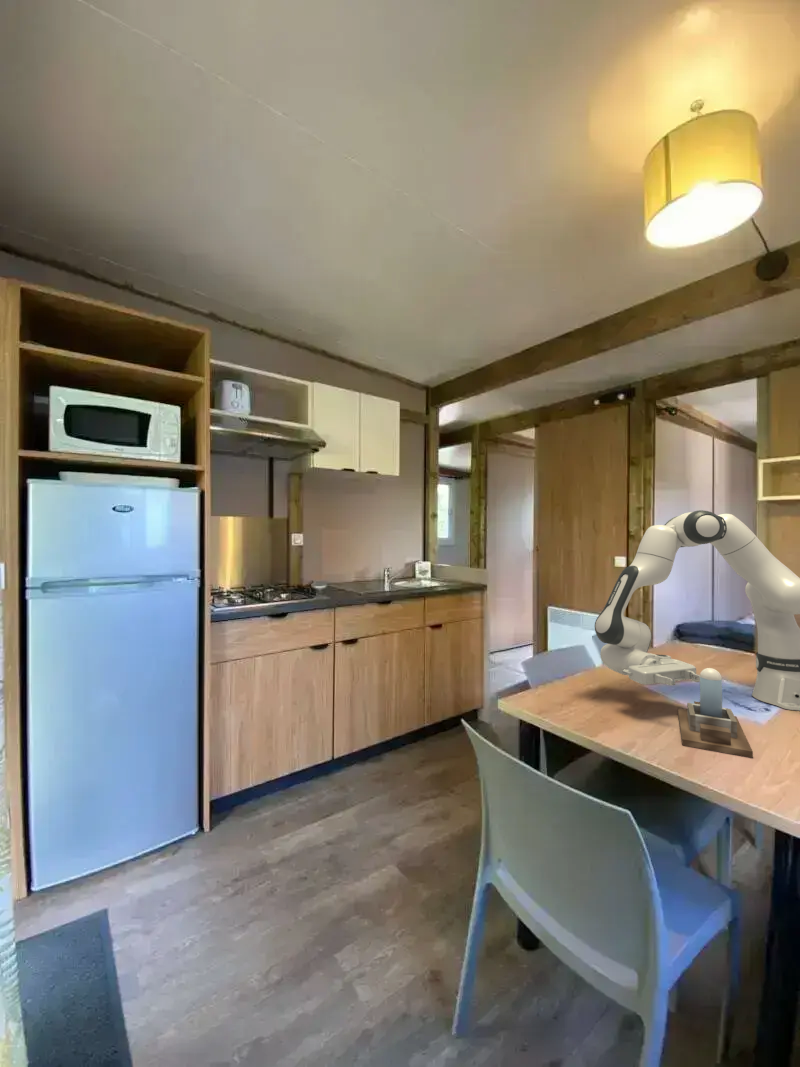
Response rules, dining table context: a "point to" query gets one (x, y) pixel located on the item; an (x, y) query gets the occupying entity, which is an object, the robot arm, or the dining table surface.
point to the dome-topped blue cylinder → (710, 693)
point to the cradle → (713, 731)
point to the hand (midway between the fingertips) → (686, 680)
